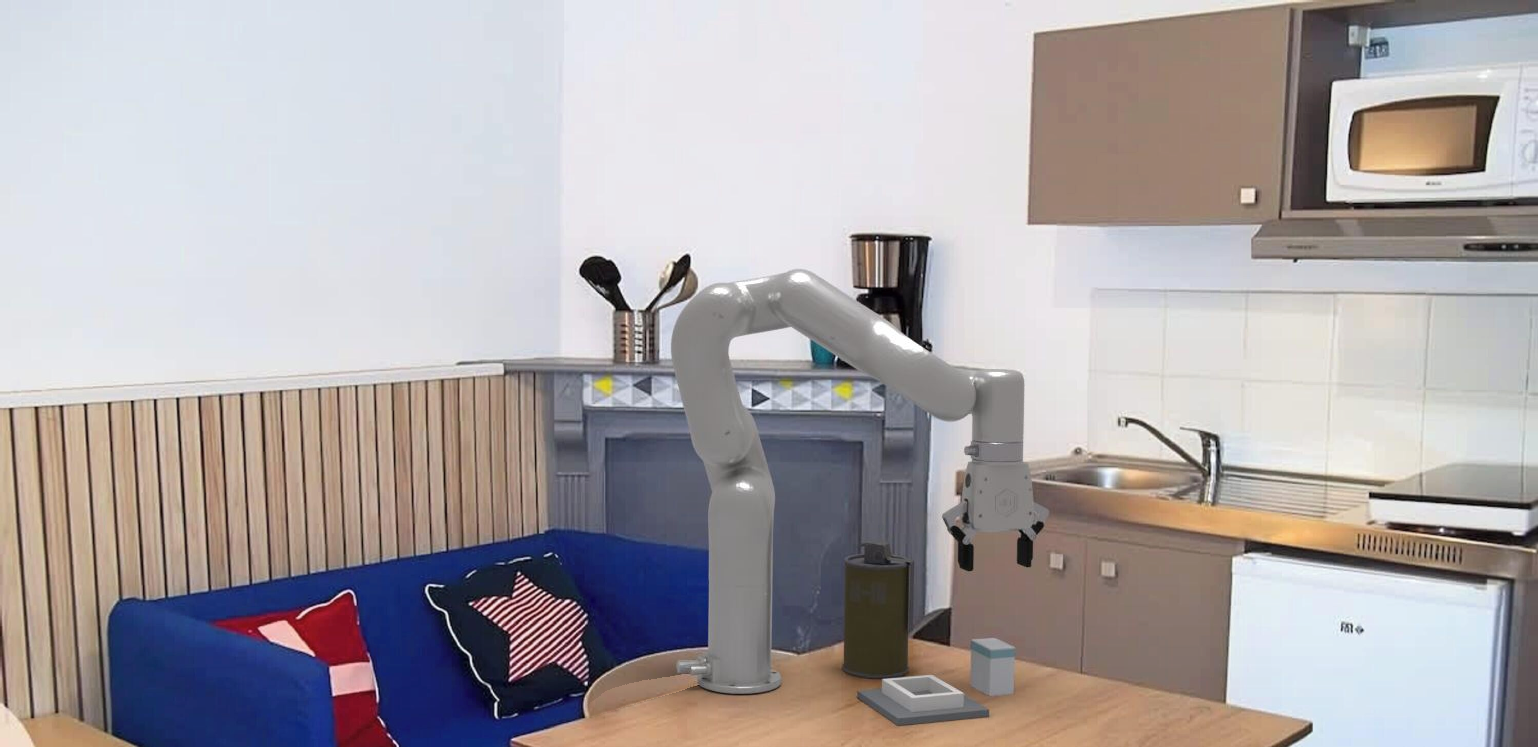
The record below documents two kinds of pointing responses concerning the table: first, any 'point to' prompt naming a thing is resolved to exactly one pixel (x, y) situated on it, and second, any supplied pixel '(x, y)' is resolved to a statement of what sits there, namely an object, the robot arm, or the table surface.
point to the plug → (992, 666)
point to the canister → (877, 612)
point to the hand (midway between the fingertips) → (995, 567)
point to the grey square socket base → (921, 701)
